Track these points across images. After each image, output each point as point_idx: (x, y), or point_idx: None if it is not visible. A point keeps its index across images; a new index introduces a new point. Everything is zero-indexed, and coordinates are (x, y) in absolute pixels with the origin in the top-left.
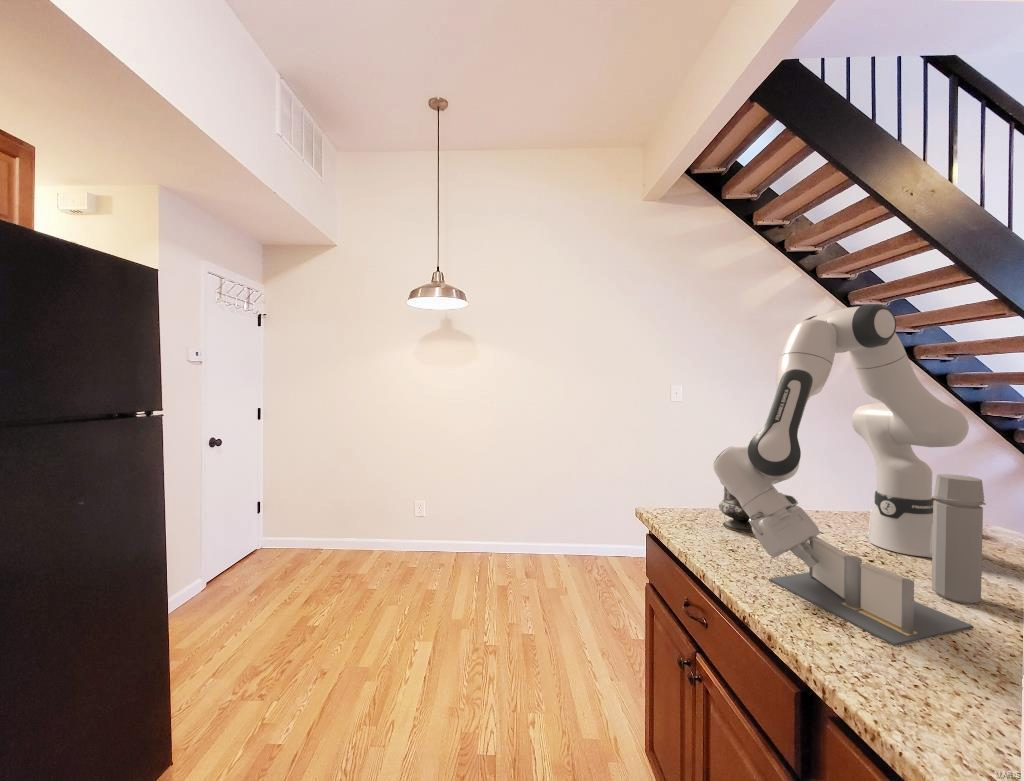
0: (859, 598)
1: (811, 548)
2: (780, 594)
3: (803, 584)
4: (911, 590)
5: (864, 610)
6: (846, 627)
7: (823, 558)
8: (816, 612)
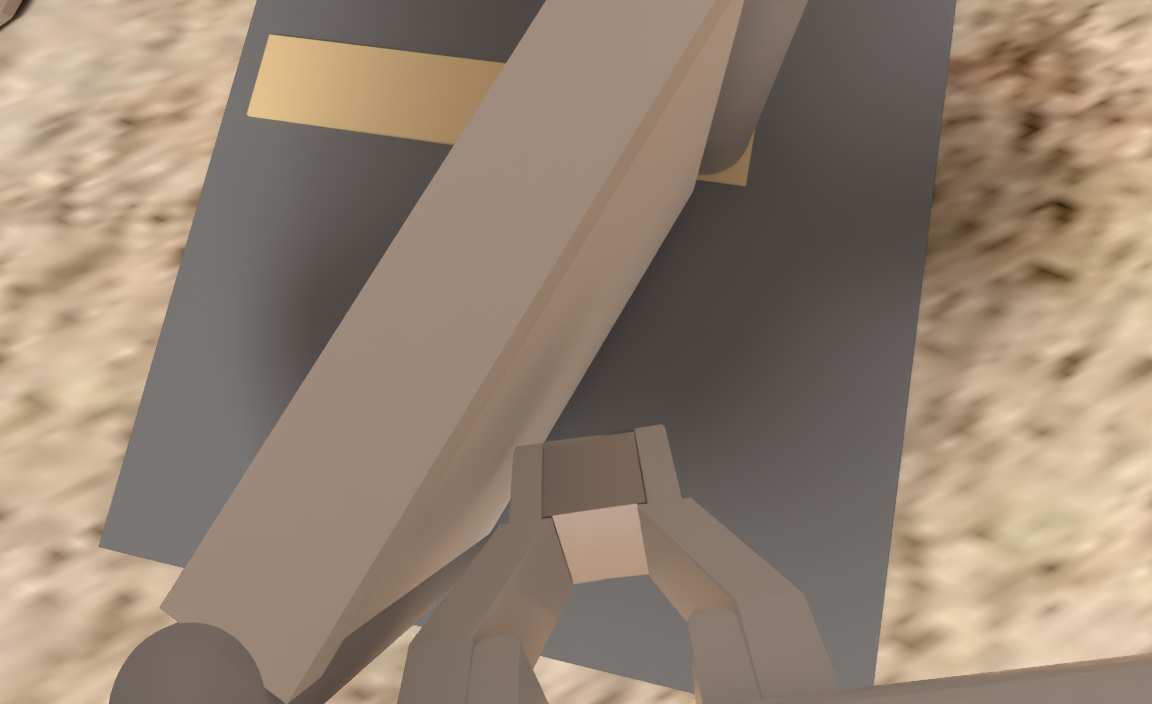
0: None
1: (453, 597)
2: (1018, 508)
3: None
4: None
5: None
6: (1027, 25)
7: (531, 382)
8: (1023, 214)
